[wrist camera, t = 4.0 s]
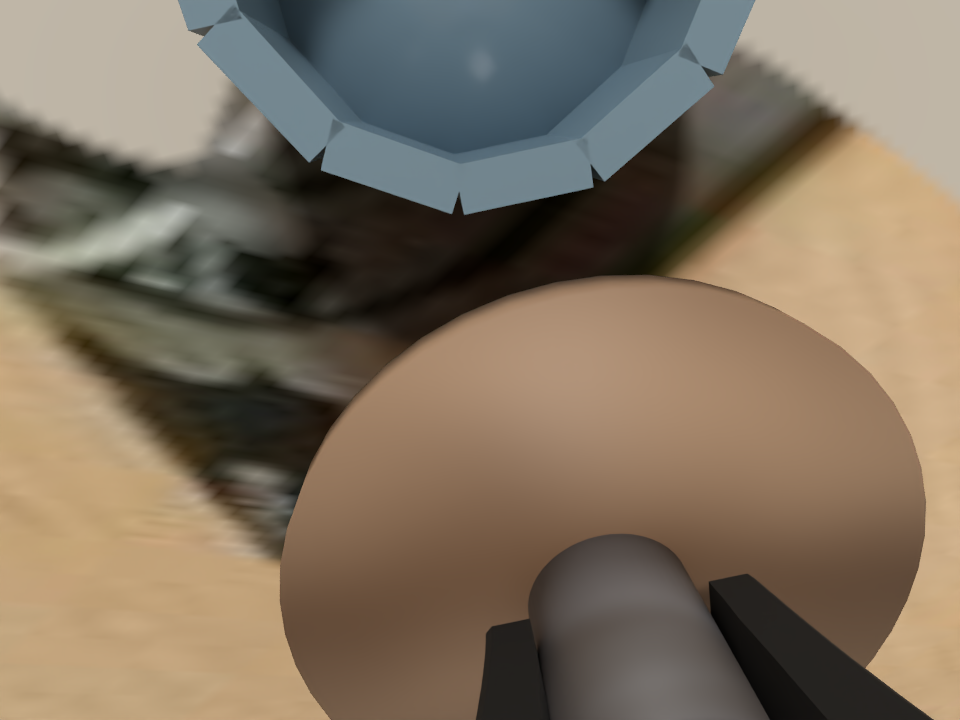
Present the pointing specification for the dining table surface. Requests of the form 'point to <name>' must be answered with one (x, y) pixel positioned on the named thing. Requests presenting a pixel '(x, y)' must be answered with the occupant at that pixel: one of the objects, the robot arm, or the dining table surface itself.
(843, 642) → the lid
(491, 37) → the bowl
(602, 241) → the dining table surface
